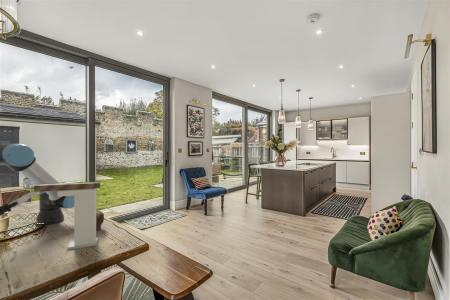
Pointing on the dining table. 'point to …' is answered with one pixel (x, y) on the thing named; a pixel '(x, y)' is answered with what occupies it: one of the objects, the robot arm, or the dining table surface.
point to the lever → (66, 186)
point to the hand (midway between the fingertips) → (31, 194)
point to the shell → (99, 219)
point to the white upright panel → (83, 217)
